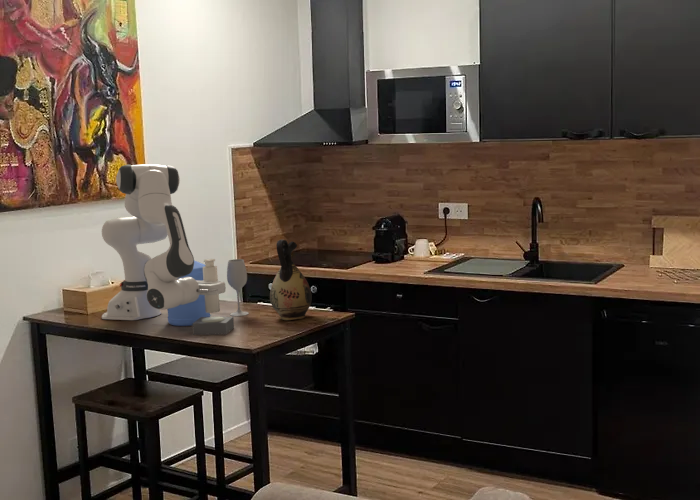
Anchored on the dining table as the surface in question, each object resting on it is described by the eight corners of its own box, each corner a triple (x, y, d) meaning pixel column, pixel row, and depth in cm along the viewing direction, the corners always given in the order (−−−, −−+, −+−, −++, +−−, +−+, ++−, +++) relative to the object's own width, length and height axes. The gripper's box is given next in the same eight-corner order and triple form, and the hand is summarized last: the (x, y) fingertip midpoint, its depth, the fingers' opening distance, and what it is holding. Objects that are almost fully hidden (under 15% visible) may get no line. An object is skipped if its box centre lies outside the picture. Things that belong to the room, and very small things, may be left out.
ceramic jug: (282, 312, 342) (277, 235, 337) (319, 314, 336) (315, 235, 332) (262, 322, 326) (257, 241, 322) (300, 324, 320) (296, 242, 316)
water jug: (202, 326, 324) (197, 250, 320) (161, 326, 326) (156, 251, 322) (215, 317, 339) (211, 244, 335) (176, 317, 341) (171, 245, 337)
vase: (203, 312, 313) (200, 261, 310) (208, 309, 317) (204, 258, 315) (217, 312, 312) (214, 260, 309) (221, 309, 317) (218, 258, 314)
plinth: (193, 334, 312) (192, 322, 311) (201, 327, 322) (201, 316, 321) (226, 334, 310) (225, 322, 309) (234, 327, 320) (233, 315, 319)
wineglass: (251, 311, 345) (247, 258, 342) (246, 316, 338) (243, 261, 335) (231, 312, 346) (228, 259, 343) (227, 316, 339) (223, 262, 336)
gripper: (210, 282, 297) (235, 275, 308) (163, 279, 307) (189, 273, 319) (211, 301, 297) (236, 293, 309) (164, 297, 308) (191, 290, 320)
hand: (212, 283), depth 314 cm, fingers closed on vase, 5 cm apart
